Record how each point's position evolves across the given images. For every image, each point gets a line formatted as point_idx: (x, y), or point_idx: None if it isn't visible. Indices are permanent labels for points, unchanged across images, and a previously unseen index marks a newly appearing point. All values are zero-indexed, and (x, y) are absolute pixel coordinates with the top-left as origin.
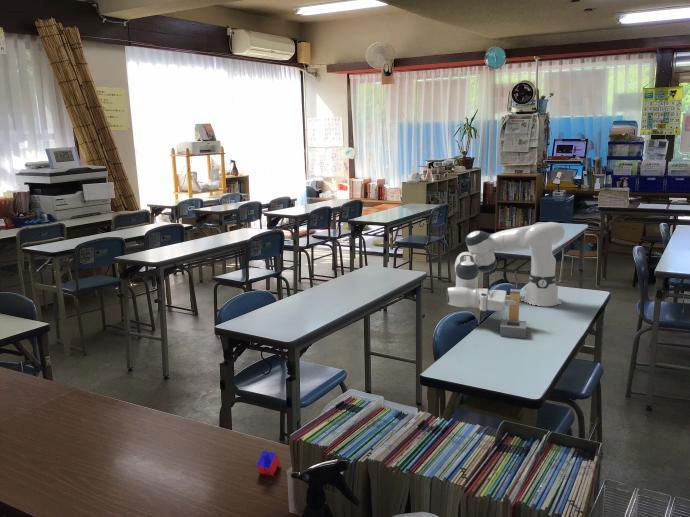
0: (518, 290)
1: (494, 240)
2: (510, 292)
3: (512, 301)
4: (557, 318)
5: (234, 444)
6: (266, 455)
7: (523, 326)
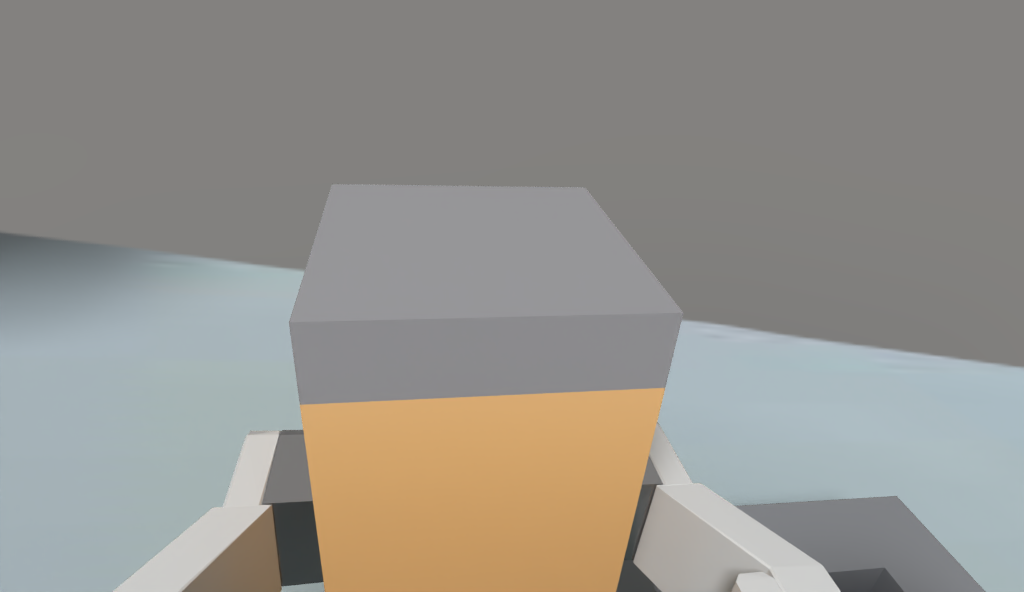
0: (455, 200)
1: None
2: (665, 351)
3: (685, 491)
4: (93, 369)
5: None
6: None
7: (848, 524)
